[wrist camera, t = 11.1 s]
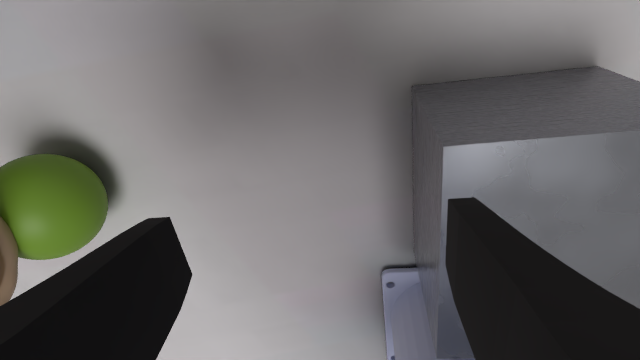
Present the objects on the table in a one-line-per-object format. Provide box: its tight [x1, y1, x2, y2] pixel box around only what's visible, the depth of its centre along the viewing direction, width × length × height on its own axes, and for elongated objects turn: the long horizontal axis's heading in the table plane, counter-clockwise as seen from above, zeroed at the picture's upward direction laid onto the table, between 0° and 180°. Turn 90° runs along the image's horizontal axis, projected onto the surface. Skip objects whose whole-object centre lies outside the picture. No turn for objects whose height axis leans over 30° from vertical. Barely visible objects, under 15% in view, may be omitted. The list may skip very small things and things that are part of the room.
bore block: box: [412, 66, 640, 359], centre depth 16 cm, size 10×8×7 cm
